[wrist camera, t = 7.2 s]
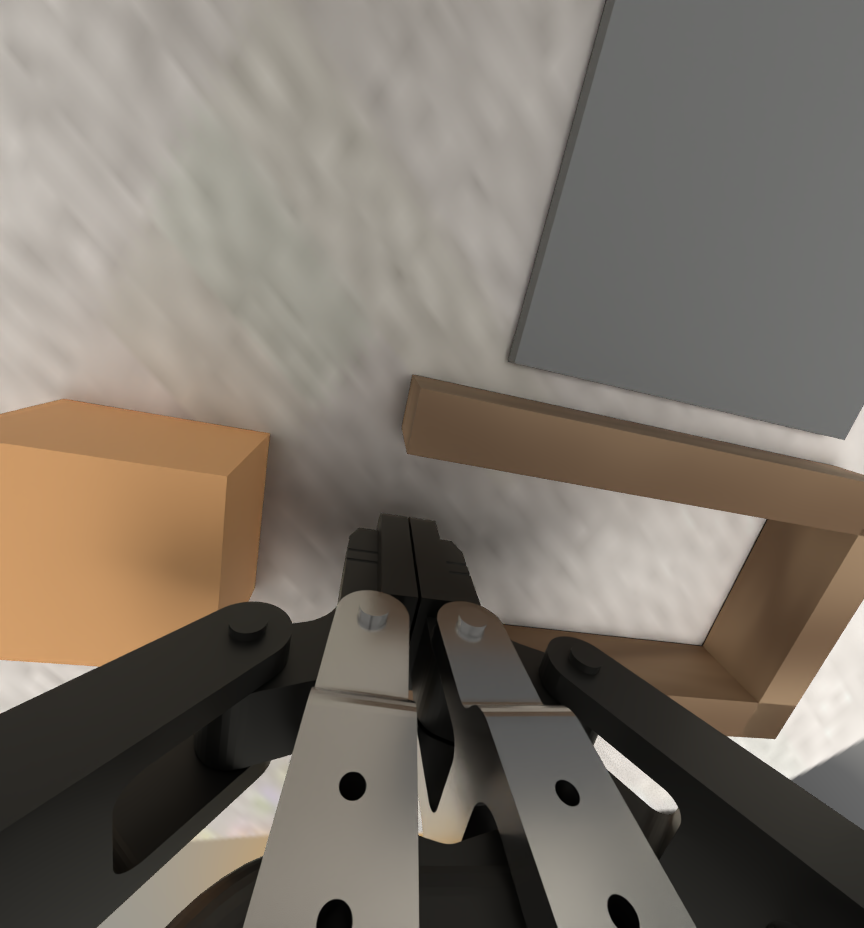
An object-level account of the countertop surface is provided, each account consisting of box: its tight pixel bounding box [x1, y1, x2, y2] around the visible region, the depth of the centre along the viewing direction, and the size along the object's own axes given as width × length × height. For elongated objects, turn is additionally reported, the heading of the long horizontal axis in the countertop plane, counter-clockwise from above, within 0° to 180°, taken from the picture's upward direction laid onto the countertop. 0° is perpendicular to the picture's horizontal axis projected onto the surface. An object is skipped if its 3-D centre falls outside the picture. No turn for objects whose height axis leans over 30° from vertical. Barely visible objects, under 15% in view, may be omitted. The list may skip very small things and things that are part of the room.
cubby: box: [402, 374, 864, 739], centre depth 13 cm, size 9×14×2 cm, turn 77°
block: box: [0, 399, 270, 666], centre depth 10 cm, size 5×5×4 cm
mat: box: [508, 0, 864, 440], centre depth 10 cm, size 11×11×1 cm
